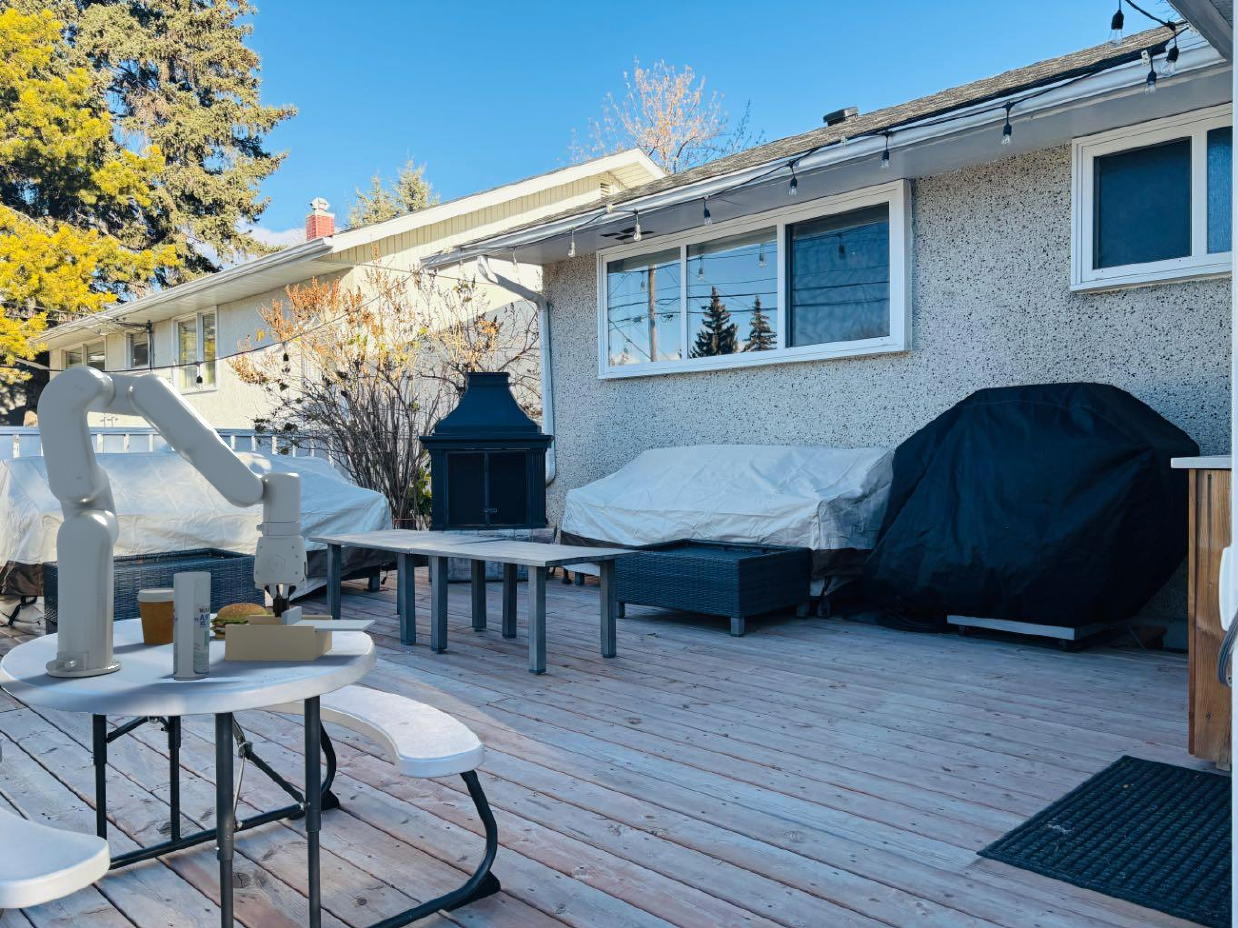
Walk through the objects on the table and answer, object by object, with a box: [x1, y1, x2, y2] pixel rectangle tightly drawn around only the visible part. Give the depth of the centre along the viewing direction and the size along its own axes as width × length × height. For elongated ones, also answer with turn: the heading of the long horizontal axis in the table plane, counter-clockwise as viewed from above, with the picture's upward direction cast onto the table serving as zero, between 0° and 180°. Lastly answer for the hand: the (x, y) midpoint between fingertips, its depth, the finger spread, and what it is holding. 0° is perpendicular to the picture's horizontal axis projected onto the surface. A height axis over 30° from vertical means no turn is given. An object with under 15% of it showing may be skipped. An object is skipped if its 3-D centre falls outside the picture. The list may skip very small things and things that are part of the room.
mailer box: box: [224, 614, 333, 662], centre depth 194 cm, size 13×18×8 cm
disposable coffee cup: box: [136, 587, 174, 646], centre depth 210 cm, size 10×10×12 cm
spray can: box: [172, 571, 212, 682], centre depth 176 cm, size 6×6×20 cm
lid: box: [281, 605, 376, 632], centre depth 195 cm, size 11×18×4 cm, turn 91°
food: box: [210, 602, 275, 640], centre depth 219 cm, size 14×14×8 cm
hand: (280, 616), depth 194 cm, fingers closed
